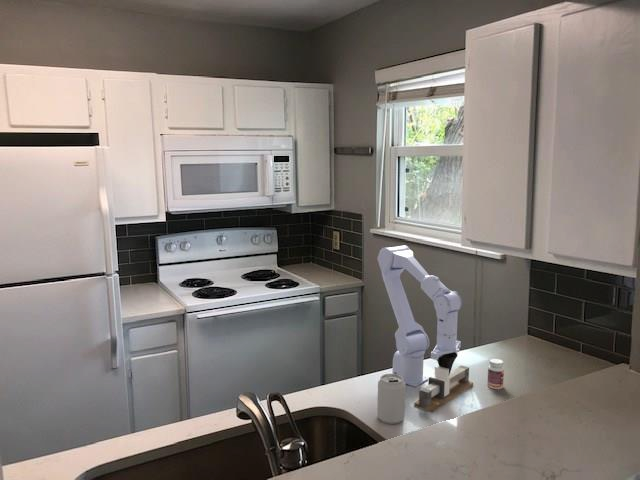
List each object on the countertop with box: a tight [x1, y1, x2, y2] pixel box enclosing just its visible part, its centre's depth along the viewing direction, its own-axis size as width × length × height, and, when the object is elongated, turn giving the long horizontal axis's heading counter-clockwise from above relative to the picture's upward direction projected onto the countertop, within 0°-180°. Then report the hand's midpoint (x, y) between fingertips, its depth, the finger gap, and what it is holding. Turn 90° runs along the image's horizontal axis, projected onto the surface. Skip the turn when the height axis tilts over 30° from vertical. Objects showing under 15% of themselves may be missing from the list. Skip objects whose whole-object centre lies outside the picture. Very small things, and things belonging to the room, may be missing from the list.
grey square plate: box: [427, 376, 445, 398], centre depth 156 cm, size 5×1×5 cm, turn 48°
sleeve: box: [430, 365, 450, 397], centre depth 158 cm, size 5×3×8 cm, turn 48°
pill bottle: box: [486, 358, 505, 390], centre depth 167 cm, size 5×5×8 cm
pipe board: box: [413, 365, 474, 413], centre depth 161 cm, size 6×25×5 cm, turn 138°
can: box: [376, 373, 407, 425], centre depth 145 cm, size 8×8×12 cm
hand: (445, 375), depth 160 cm, fingers closed
